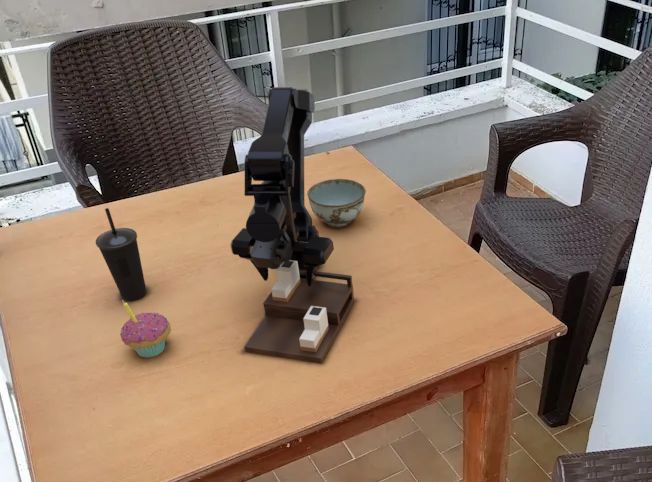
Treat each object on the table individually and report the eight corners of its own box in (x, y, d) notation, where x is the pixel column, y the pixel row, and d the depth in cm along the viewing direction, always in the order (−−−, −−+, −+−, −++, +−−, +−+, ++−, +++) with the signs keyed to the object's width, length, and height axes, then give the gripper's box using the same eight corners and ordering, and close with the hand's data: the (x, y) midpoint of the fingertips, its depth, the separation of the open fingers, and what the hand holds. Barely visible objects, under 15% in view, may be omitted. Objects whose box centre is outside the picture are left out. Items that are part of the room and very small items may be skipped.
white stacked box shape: (313, 326, 131) (310, 305, 128) (328, 328, 130) (326, 307, 127) (300, 350, 125) (296, 328, 122) (315, 352, 125) (312, 330, 122)
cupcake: (131, 370, 123) (112, 317, 116) (124, 343, 130) (105, 291, 122) (179, 354, 127) (164, 302, 119) (170, 329, 133) (155, 278, 126)
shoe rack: (245, 351, 127) (239, 324, 123) (285, 292, 142) (280, 266, 138) (321, 363, 124) (318, 335, 120) (354, 301, 139) (351, 275, 135)
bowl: (298, 226, 163) (294, 196, 159) (333, 202, 172) (330, 173, 168) (345, 241, 157) (342, 210, 153) (378, 216, 167) (376, 186, 162)
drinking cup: (161, 288, 144) (136, 203, 132) (135, 308, 138) (106, 222, 126) (133, 280, 146) (106, 196, 135) (106, 299, 141) (76, 214, 129)
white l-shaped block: (286, 280, 138) (283, 258, 135) (300, 281, 137) (297, 260, 134) (272, 300, 133) (268, 278, 130) (287, 302, 132) (283, 280, 129)
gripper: (209, 229, 121) (226, 300, 131) (308, 241, 118) (318, 313, 127) (237, 200, 130) (251, 268, 139) (330, 209, 126) (338, 279, 136)
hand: (288, 282), depth 135 cm, fingers open, 9 cm apart
